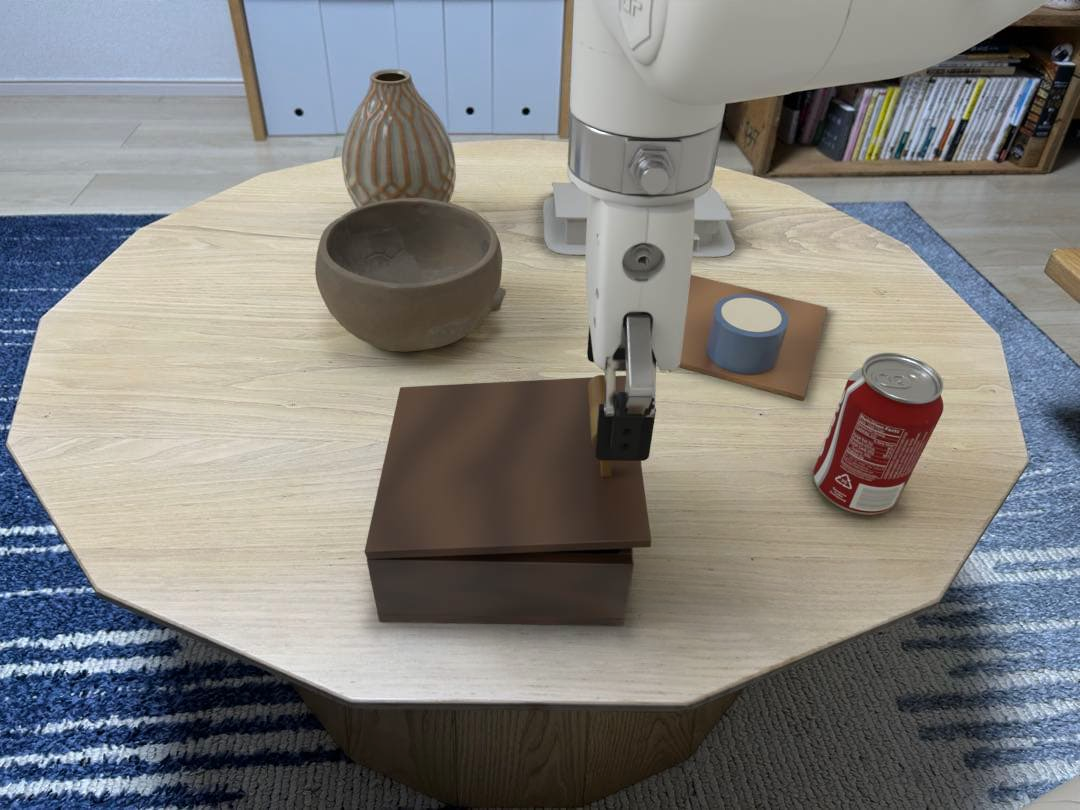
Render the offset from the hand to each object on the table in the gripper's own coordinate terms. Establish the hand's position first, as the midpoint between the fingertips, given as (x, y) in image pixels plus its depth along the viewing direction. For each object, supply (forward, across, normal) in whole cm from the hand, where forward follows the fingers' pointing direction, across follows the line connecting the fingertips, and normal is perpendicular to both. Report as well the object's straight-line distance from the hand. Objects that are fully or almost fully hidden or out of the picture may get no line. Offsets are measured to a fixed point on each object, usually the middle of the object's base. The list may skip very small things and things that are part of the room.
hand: (615, 405), depth 50 cm
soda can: (+14, +6, -21) cm, 26 cm away
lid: (+5, 0, +7) cm, 9 cm away
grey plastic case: (+12, +50, -7) cm, 52 cm away
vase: (+12, +49, +21) cm, 55 cm away
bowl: (+13, +27, +17) cm, 35 cm away
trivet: (+13, +27, -16) cm, 34 cm away
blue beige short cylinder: (+12, +23, -15) cm, 30 cm away
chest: (+13, 0, +7) cm, 15 cm away
